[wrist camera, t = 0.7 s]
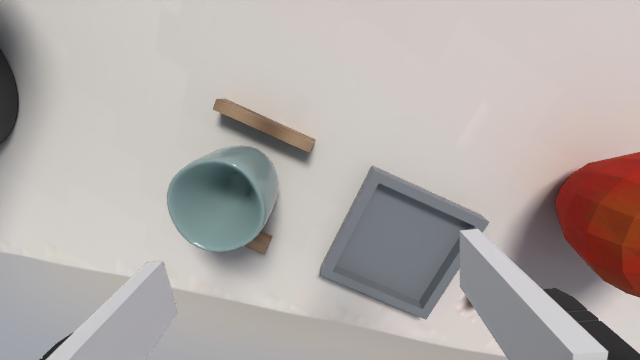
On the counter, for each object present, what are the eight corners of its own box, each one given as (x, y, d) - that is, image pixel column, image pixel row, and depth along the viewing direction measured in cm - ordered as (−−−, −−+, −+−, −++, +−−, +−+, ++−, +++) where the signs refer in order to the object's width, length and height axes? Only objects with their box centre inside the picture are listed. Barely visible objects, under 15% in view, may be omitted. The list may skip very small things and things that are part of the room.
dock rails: (185, 208, 36) (175, 216, 33) (224, 98, 32) (216, 99, 30) (268, 243, 37) (264, 254, 34) (315, 139, 33) (313, 143, 31)
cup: (268, 129, 33) (242, 144, 23) (294, 197, 35) (280, 237, 25) (200, 152, 34) (148, 177, 24) (229, 218, 36) (191, 264, 26)
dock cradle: (321, 265, 37) (320, 275, 35) (372, 165, 34) (374, 169, 32) (421, 308, 38) (426, 319, 36) (480, 214, 35) (489, 222, 33)
